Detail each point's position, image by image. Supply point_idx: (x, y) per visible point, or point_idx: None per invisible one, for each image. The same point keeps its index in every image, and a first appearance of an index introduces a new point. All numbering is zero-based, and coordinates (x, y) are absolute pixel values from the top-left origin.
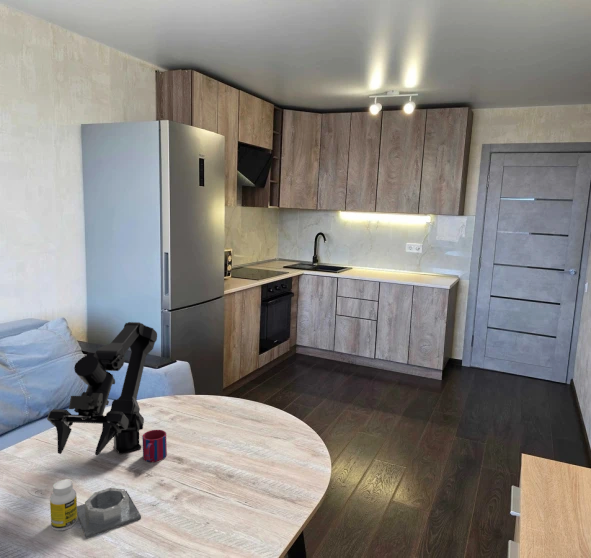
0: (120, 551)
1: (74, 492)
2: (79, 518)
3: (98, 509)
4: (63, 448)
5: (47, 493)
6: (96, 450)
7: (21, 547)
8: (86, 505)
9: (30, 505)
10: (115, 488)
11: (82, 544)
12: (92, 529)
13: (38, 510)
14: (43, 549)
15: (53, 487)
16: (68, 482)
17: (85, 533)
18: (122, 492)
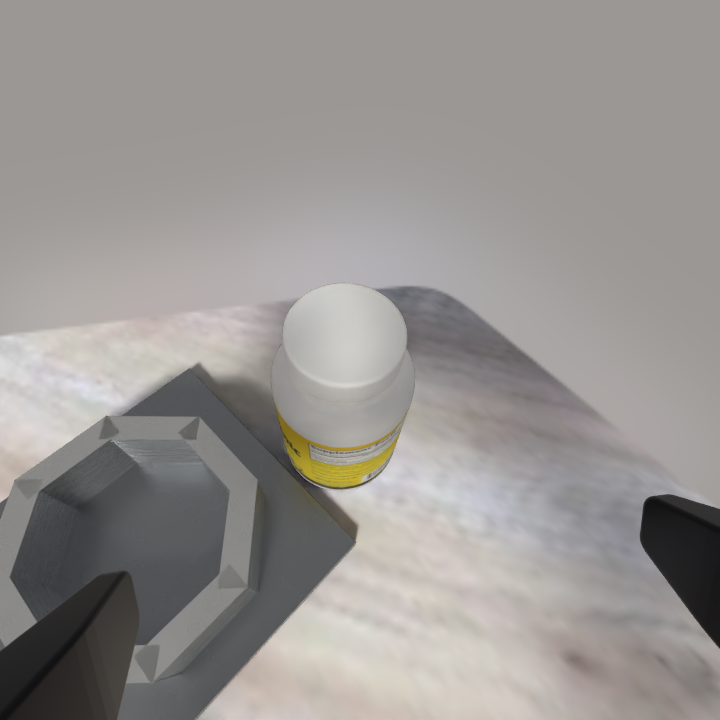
0: (20, 338)
1: (281, 391)
2: (279, 463)
3: (144, 431)
4: (702, 617)
5: (627, 665)
6: (89, 596)
7: (405, 305)
8: (232, 453)
9: (605, 531)
10: None
11: (191, 347)
12: (174, 401)
13: (531, 503)
14: None
15: (381, 294)
16: (319, 353)
17: (195, 375)
18: None
